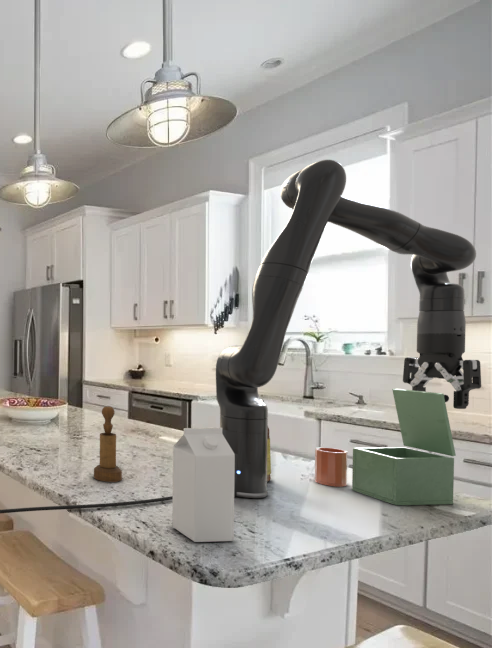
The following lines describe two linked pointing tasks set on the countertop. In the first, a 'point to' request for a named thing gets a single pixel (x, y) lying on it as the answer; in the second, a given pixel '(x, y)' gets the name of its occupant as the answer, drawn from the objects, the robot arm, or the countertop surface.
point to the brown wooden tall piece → (108, 451)
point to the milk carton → (203, 485)
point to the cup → (331, 466)
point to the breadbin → (403, 475)
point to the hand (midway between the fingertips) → (439, 405)
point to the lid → (424, 420)
